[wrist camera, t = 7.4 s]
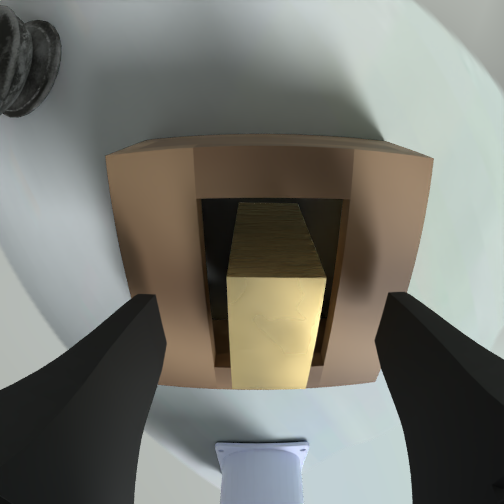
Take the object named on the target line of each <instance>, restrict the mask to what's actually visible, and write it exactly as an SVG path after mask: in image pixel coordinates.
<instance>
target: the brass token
mask: <svg viewBox="0 0 504 504" xmlns="http://www.w3.org/2000/svg"><path fill="white" fill-rule="evenodd" d="M326 279H327V278H326V275H325V272H324V270H323V267H322V264H321V262H320V259H319V256H318V254H317V251H316V248H315V246H314V243H313V241H312V238H311V236H310V233H309V230H308V228H307V225H306V223H305V220H304V218H303V215H302V213H301V210H300V208H299V206H298V203H249V202H239V205H238V211H237V216H236V222H235V228H234V234H233V240H232V247H231V253H230V259H229V265H228V271H227V300H228V321H229V341H230V360H231V377H232V389H257V390H274V389H306V385H307V381H308V376H309V372H310V367H311V362H312V357H313V352H314V347H315V342H316V337H317V332H318V326H319V321H320V315H321V309H322V304H323V298H324V291H325V285H326Z"/></svg>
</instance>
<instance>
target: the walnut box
mask: <svg viewBox="0 0 504 504" xmlns="http://www.w3.org/2000/svg"><path fill="white" fill-rule="evenodd" d="M105 158H106V166H107V174H108V182H109V189H110V196H111V202H112V209H113V215H114V220H115V226H116V231H117V237H118V242H119V247H120V251H121V256H122V261H123V265H124V270H125V274H126V278H127V282H128V286H129V290H130V294H131V298H133V297H134V296H135V295H137V294H156V298H157V303H158V307H159V312H160V316H161V320H162V325H163V329H164V333H165V337H166V341H167V346H166V352H165V357H164V363H163V368H162V372H161V375H160V378H159V382H158V385H166V386H178V387H191V388H208V389H232V377H231V360H230V341H229V321H228V320H215V319H212V315H211V306H210V297H209V287H208V276H207V266H206V254H205V243H204V230H203V217H202V203H201V199H204V198H325V199H343V201H342V211H341V221H340V230H339V239H338V247H337V255H336V263H335V270H334V277H333V284H332V291H331V297H330V303H329V310H328V316H327V318H323V319H320V321H319V326H318V332H317V337H316V342H315V347H314V352H313V357H312V362H311V367H310V372H309V376H308V381H307V385H306V388H318V387H332V386H343V385H353V384H362V383H370V382H375V381H376V379H377V376H378V374H379V371H380V369H381V366H380V362H379V358H378V354H377V350H376V346H375V341H374V340H375V337H376V334H377V330H378V327H379V324H380V320H381V317H382V313H383V310H384V306H385V303H386V299H387V295H388V292H406V293H407V290H408V287H409V283H410V279H411V276H412V272H413V268H414V264H415V260H416V256H417V252H418V247H419V243H420V238H421V234H422V229H423V224H424V219H425V214H426V208H427V202H428V196H429V190H430V183H431V176H432V168H433V160H434V158H431V157H428V156H426V155H423V154H421V153H418V152H415V151H412V150H410V149H407V148H404V147H401V146H398V145H395V144H392V143H389V142H386V141H379V140H370V139H360V138H349V137H335V136H319V135H297V134H224V135H201V136H185V137H172V138H160V139H150V140H146V141H143V142H140V143H137V144H135V145H132V146H129V147H127V148H124V149H121V150H119V151H116V152H114V153H111V154H109V155H106V156H105ZM238 390H257V389H238Z"/></svg>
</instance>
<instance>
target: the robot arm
mask: <svg viewBox="0 0 504 504" xmlns="http://www.w3.org/2000/svg"><path fill="white" fill-rule="evenodd" d="M374 341H375V346H376V350H377V354H378V358H379V362H380V366H381V369H382V372H383V375H384V377H385V380H386V383H387V385H388V388H389V391H390V393H391V396H392V399H393V401H394V404H395V407H396V410H397V412H398V415H399V418H400V421H401V424H402V428H403V431H404V436H405V441H406V446H407V452H408V457H409V465H410V473H411V483H412V499H413V504H504V359H502V358H500V357H498V356H497V355H495V354H494V353H492V352H490V351H488V350H487V349H485V348H484V347H482V346H481V345H479V344H478V343H476V342H475V341H473V340H472V339H470V338H469V337H468V336H466V335H465V334H463V333H462V332H460V331H459V330H458V329H456V328H455V327H454V326H452V325H451V324H450V323H448V322H447V321H446V320H444V319H443V318H442V317H440V316H439V315H438V314H436V313H435V312H434V311H432V310H431V309H429V308H428V307H427V306H425V305H424V304H423V303H421V302H420V301H419V300H417V299H416V298H414V297H413V296H411V295H410V294H408V293H406V292H388V295H387V299H386V303H385V306H384V310H383V313H382V317H381V320H380V324H379V327H378V330H377V334H376V337H375V340H374ZM166 346H167V341H166V337H165V333H164V329H163V325H162V320H161V316H160V312H159V307H158V303H157V298H156V294H137V295H135V296H134V297H133V298H131V299H130V300H129V301H128V302H126V303H125V304H124V305H123V306H122V307H120V308H119V309H118V310H117V311H116V312H115V313H113V314H112V315H111V316H110V317H109V318H107V319H106V320H105V321H104V322H103V323H102V324H100V325H99V326H98V327H97V328H96V329H94V330H93V331H92V332H91V333H89V334H88V335H87V336H86V337H84V338H83V339H82V340H80V341H79V342H78V343H77V344H75V345H74V346H73V347H72V348H70V349H69V350H68V351H66V352H65V353H63V354H62V355H61V356H59V357H58V358H56V359H55V360H54V361H52V362H50V363H49V364H47V365H46V366H44V367H43V368H41V369H39V370H38V371H36V372H34V373H32V374H30V375H29V376H27V377H25V378H23V379H21V380H19V381H18V382H16V383H14V384H12V385H10V386H8V387H6V388H4V389H2V390H0V504H134V492H135V481H136V471H137V463H138V457H139V449H140V444H141V438H142V434H143V430H144V426H145V423H146V420H147V416H148V413H149V410H150V407H151V404H152V400H153V397H154V394H155V391H156V388H157V385H158V382H159V378H160V375H161V372H162V368H163V363H164V357H165V352H166ZM215 450H216V454H217V457H218V461H219V465H220V468H221V472H222V484H221V499H220V504H304V499H303V486H302V474H301V470H302V467H303V464H304V461H305V458H306V456H307V453H308V450H309V443H308V442H293V443H216V444H215Z"/></svg>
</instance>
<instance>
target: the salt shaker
mask: <svg viewBox="0 0 504 504" xmlns="http://www.w3.org/2000/svg"><path fill="white" fill-rule="evenodd" d="M60 60H61V43H60V38H59V35H58V33H57V31H56V29H55V28H54V26H52V25H51V24H50V23H48V22H46V21H41V20H35V21H30V22H27V23H25V24H24V23H23V22H22V20H20V19H19V18H18V17H17V16H15V13H14V11H12V10H11V9H10V8H8V7H7V6H1V5H0V115H1V114H2V113H3V114H4V115H6V116H9V117H21V116H24V115H27V114H29V113H30V112H32V111H33V110H34V109H36V108H37V107H38V106H39V105H40V104H41V103H42V101H43V100H44V99H45V98H46V96H47V94H48V93H49V91H50V89H51V88H52V86H53V84H54V81H55V78H56V76H57V73H58V69H59V65H60Z"/></svg>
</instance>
